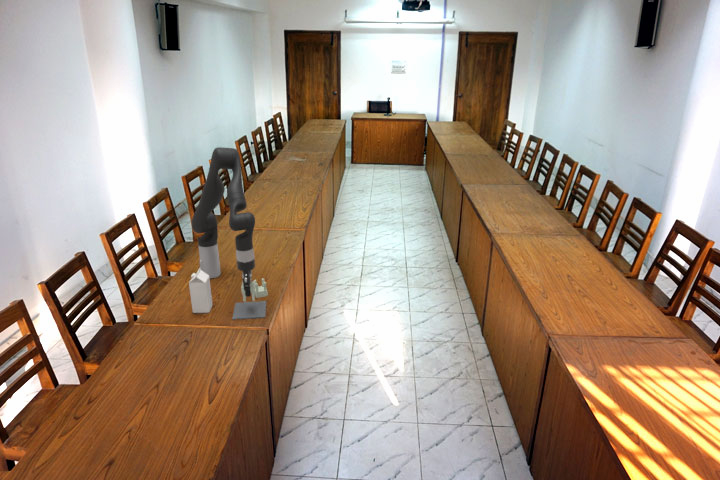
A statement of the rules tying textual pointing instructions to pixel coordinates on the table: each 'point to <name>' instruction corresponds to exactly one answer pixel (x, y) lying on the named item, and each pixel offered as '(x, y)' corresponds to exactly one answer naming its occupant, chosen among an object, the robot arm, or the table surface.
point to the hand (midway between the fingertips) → (248, 292)
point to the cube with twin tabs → (250, 290)
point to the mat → (249, 310)
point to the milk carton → (200, 292)
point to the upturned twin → (261, 289)
